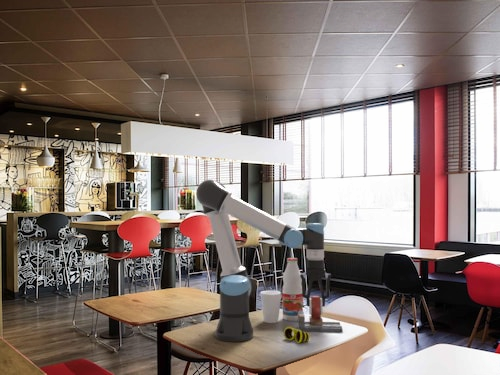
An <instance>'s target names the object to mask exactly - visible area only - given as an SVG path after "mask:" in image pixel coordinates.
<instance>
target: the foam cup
mask: <svg viewBox="0 0 500 375" xmlns="http://www.w3.org/2000/svg"><path fill="white" fill-rule="evenodd" d="M281 300H282V292H281V291H279V290H262V291H260V301H261V308H262V315H263V317H262V318H263V321H264V323H268V324H276V323H277V322H279V316H280V308H281V307H280V306H281Z"/></svg>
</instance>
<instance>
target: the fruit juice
mask: <svg viewBox="0 0 500 375" xmlns="http://www.w3.org/2000/svg"><path fill="white" fill-rule="evenodd" d="M298 261H299V260H298V258H297V257H288V258H287V259H286V262H287V264H286V268H285V270H284V272H283V274H282V281H283V285H282V292H281V294H282V319H283V320H285V321H290V322H298V312H304V310H303V308H304V305H303V304H304V303H303V300H304V297H303V296H302V279H301V277H300V274H301V273H302V272H301V271H300V268H299V265H298Z"/></svg>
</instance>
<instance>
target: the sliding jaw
mask: <svg viewBox="0 0 500 375" xmlns="http://www.w3.org/2000/svg"><path fill="white" fill-rule="evenodd" d="M310 298H311V315H309V316H308V317H309V318H308V319H309V321H310V324H311V325H323V322H324V320H323V317H322V315H321V306H320V298H321V296H319V295H310Z"/></svg>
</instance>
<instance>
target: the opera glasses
mask: <svg viewBox="0 0 500 375" xmlns="http://www.w3.org/2000/svg"><path fill="white" fill-rule="evenodd" d="M310 336H311V335H310V334H309V332H304V331H301V330H299V329H296V328H293V327H291V326H287V327H285V329H284V330H283V337H284V339H285V340H288V341H292V340H294V339H295V342H296V343H297V344H300V343H305V342H309V340H310Z"/></svg>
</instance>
